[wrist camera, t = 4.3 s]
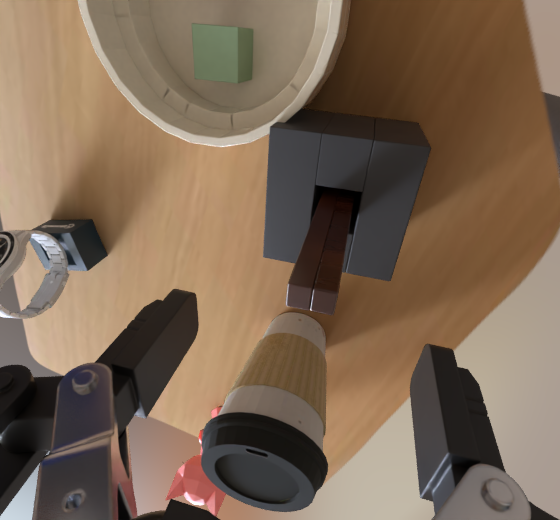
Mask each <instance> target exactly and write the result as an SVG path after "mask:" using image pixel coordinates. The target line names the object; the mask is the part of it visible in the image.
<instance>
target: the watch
mask: <svg viewBox="0 0 560 520" xmlns="http://www.w3.org/2000/svg"><path fill="white" fill-rule="evenodd" d="M28 241H30V242H31V244H32V246H33V248H34V250H35V252H36V253H37V255H38V257H39V259H40V261H41V262H42V264H43V266H44V268H45V270H50V272H49V273H50V274H49V273H48V274H46V275H45V278H44V280H43V282H42V284H41V286H40V288H39V290H38V291H37V293H36V294H35V295H34V297H33V298H32V299H31V303H30V304H29V305H28V306H27V307H26V309H24V310H22V312H17V313H12V312H10V311H8V310H7V309H6V308H3V307H2V305H1V304H0V317H10V318H20V319H27V318H32V317H36V316H37V315H40V314H42V313H43V312H44V311H46V310H47V309H48V308H51V307H52V306H53V305H54V304H55V302H56V301H57V299H58V298H59V296H60V295H61V293H62V291H63V289H64V287H65V285H66V282H67V280H68V277H69V274H68V270H75V271H88V270H89V269H91V268H92V267H93V266H95V265H96V264H97V263H99V262H100V261H101V260H102V259H104V258H105V257H106V256H108V255H107V253H106V251H105V249H104V246H103V244H102V242H101V239H100V237H99V235H98V232H97V230H96V228H95V225H94V223H93V221H92V219H90V220H49V221H47V222H46V223H44V224H42V225H40V226H38V227H36V228H34V229H32V230H15V231H0V291H1V289H2V287H3V284H4V282H5V281H6V280H7V279H8V278H10V277H11V276H12V275H13V274H14V273H15V272H16V271H17V270H18V269H19V268H20V266H21V265H22V263H23V261H24V259H25V256H26V244H27V242H28Z"/></svg>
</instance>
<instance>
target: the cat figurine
mask: <svg viewBox="0 0 560 520" xmlns="http://www.w3.org/2000/svg"><path fill="white" fill-rule="evenodd" d="M221 408H222V407H217V408H215V409H214V410H212V411H211V413H212V419H213V418H214V417H216V416H217V415H218V414H219V412H220V410H221ZM203 431H204V429H203V430H200V434H199V441H200V443H201V444H202V435H203ZM202 451H203V450H202V446H201V455H197V456H194V457H192V458H191V459H189V460H188V461H187V462H186V463H184V465H183V466H181V467H180V468H179V469H178V470H177V473H176V475H175V478H174V480H173V483H172V485H171V488H170V490H169V493H168V495H167V498H166V500H169V499H172V498H175V497H178V496H181V495H184V496H185V498H186V499H187V500H188V501H190V502H191V503H193V504H196V505H203V504H205V503H206V505H207V506H208V508H209V510H210V512H211V513H212V514H213V515H214V516H217V514H218V511H219V509H220V507H221V504H222V502H223V500H224V497H225V495H226V493H224V492H223V491H222V490H220V489H219V488H218V487H216V486H215V485H214V484H213V483H212V482H211V481H210V480H209V479H208V477H207V476H206V475H205V473H204V471H203V469H202V466H201V457H202Z"/></svg>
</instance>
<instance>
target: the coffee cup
mask: <svg viewBox="0 0 560 520" xmlns="http://www.w3.org/2000/svg"><path fill="white" fill-rule="evenodd" d="M325 345H326V336H325V332H324V330H323V328H322V327H321V325H320V324H319V323H318V322H317V321H316V320H314V319H313V318H311V317H309V316H307V315H304V314H301V313H295V312H290V313H284V314H281V315H279V316H277V317H276V318H274V320H273V321H272V322H271V324H270V326H269V327H268V329H267V331H266V332H265V334H264V336H263V338H262V339H261V340H260V341H259V342H258V344H257V345H256V347H255V349H254V350H253V352H252V354H251V356H250V357H249V359H248V361H247V362H246V364H245V366H244V367H243V369H242V371H241V372H240V374H239V376H238V378H237V379H236V381H235V383H234V384H233V386H232V388H231V389H230V391H229V393H228V394H227V396H226V399H225V401H224V405H223V407H222V408H221V410H220V412H219V414H218V415H217V416H216V417H214V418H213V419H211V420H210V421H209V422H208V423H207V424H206V426H205V428H204V431H203V435H202V444H201V446H202V450H203V451H202V457H201V466H202V469H203V471H204V473H205V475H206V476H207V477H208V479H209V480H210V481H211V482H212V483H213V484H214V485H215V486H216V487H218V488H219V489H220V490H222V491H223V492H224V493H226V494H227V495H229V496H231V497H233V498H235V499H237V500H239V501H241V502H243V503H245V504H248V505H251V506H254V507H258V508H261V509H265V510H271V511H279V512H291V511H297V510H301V509H303V508H305V507H307V506H309V505H310V504H311V503H312V501H313V499H314V496H315V494H316V492H317V490H319V489H320V488H321V487H322V485H323V483H324V481H325V478H326V475H327V472H328V463H327V460H326V457H325V455H324V453H323V438H324V435H325V430H326V372H327V363H326V359H325Z"/></svg>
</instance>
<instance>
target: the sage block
mask: <svg viewBox="0 0 560 520" xmlns="http://www.w3.org/2000/svg"><path fill="white" fill-rule="evenodd" d="M192 41H193V59H194V76H195V79H200V80H209V81H218V82H228V83H237V84H238V83H242V82H245V81H249V80H252V67H253V29H250V28H243V27H233V26H221V25H208V24H196V23H192Z"/></svg>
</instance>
